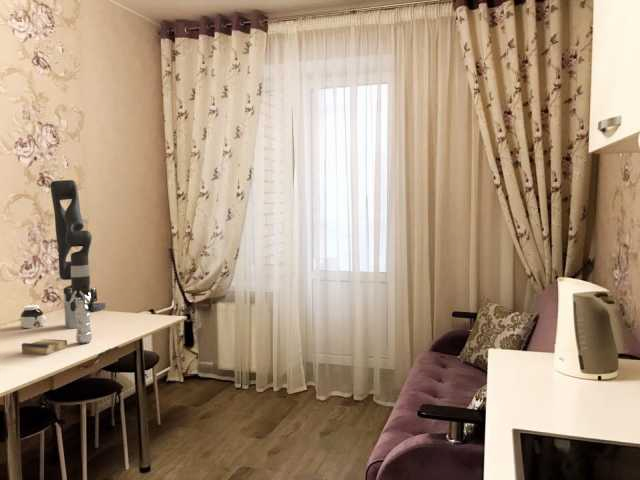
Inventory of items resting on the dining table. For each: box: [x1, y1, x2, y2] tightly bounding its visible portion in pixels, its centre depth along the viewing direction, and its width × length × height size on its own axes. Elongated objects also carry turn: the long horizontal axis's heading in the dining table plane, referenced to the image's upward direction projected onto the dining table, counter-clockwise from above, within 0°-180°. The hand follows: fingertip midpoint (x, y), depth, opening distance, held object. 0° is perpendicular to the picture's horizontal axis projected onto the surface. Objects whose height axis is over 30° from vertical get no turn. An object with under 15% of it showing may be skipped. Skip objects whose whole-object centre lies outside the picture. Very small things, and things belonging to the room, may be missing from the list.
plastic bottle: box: [75, 298, 93, 344], centre depth 224 cm, size 6×7×20 cm
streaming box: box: [86, 302, 106, 313], centre depth 291 cm, size 13×13×4 cm
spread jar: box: [20, 304, 47, 330], centre depth 255 cm, size 12×11×12 cm
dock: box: [21, 338, 68, 356], centre depth 213 cm, size 12×12×4 cm
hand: (82, 311), depth 223 cm, fingers open, 8 cm apart
